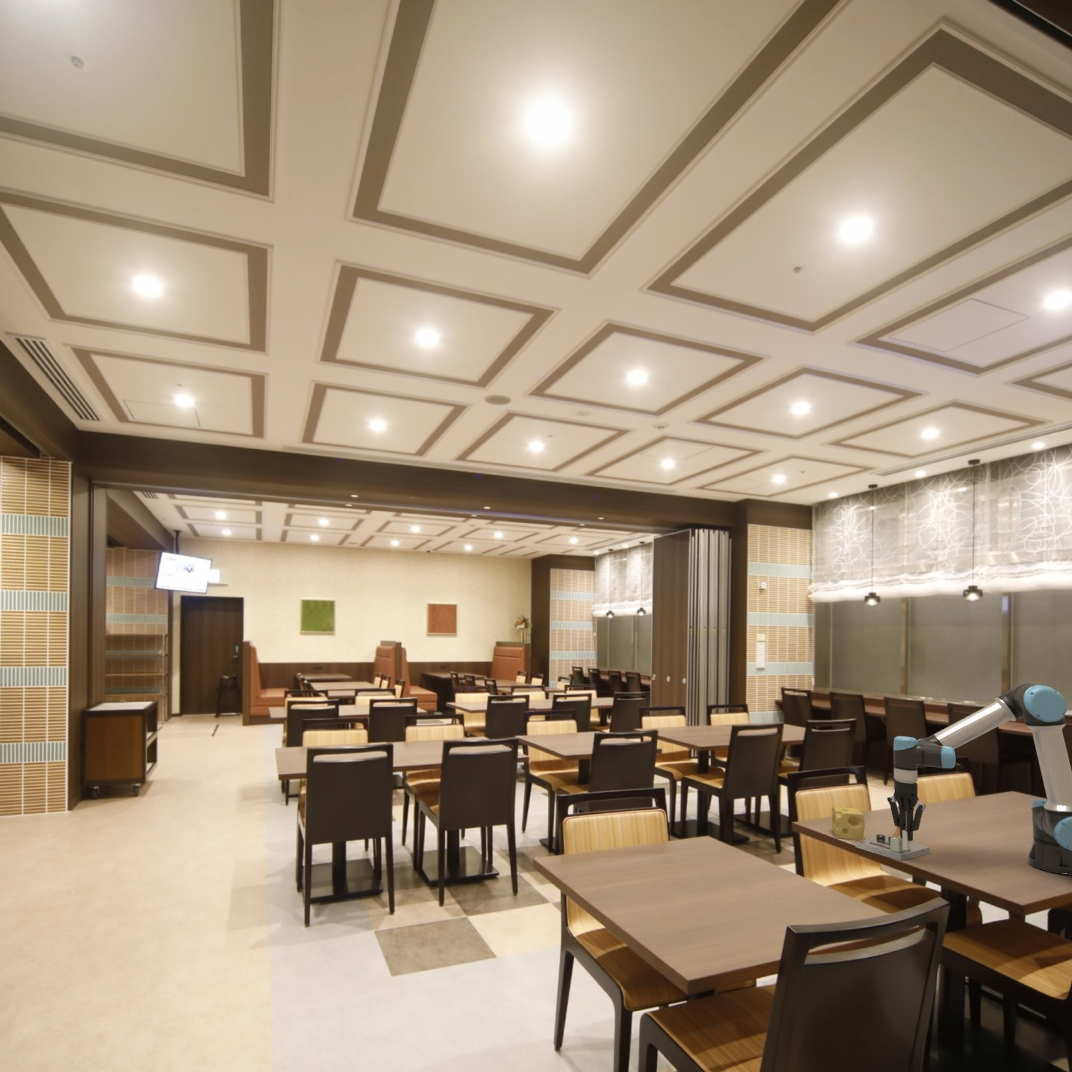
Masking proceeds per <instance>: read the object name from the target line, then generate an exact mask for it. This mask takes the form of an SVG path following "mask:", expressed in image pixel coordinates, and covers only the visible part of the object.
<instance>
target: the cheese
mask: <svg viewBox="0 0 1072 1072" xmlns="http://www.w3.org/2000/svg"><path fill="white" fill-rule="evenodd" d="M865 823H866V822H865V815H864V814H863V813H862V812H861V811H860V810H859V809H858V808H853V807H841V806H840V807H839V806H832V807H831V830H832V833H833V834H834V835H835V838H836V839H840V840H841V839H842V840H843V839H844V840H852V841H860V840H864V834H865V828H866V825H865Z"/></svg>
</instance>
